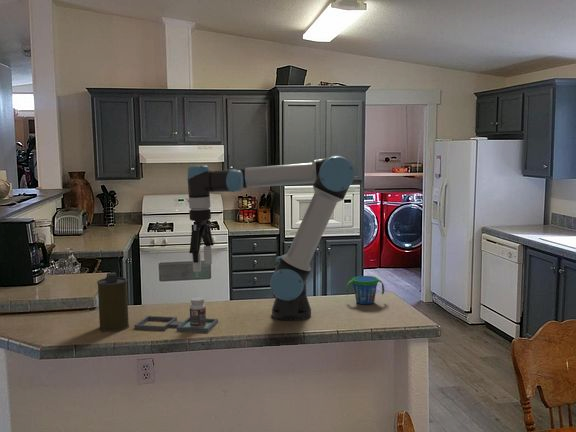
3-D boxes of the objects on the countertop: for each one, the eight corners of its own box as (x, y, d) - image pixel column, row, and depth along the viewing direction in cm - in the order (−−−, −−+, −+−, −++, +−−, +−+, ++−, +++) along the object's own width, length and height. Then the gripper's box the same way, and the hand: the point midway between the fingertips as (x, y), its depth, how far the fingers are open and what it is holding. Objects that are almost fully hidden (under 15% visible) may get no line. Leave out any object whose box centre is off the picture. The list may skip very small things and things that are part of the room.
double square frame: (218, 322, 213) (218, 318, 213) (208, 332, 202) (208, 328, 201) (147, 319, 218) (147, 315, 218) (134, 328, 207) (134, 325, 206)
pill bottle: (202, 328, 205) (202, 301, 204) (187, 327, 206) (186, 300, 205) (208, 323, 211) (207, 297, 210) (193, 323, 212) (192, 296, 211)
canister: (132, 328, 207) (130, 274, 204) (102, 333, 202) (99, 277, 199) (125, 321, 216) (122, 268, 214) (96, 325, 211) (93, 272, 209)
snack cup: (346, 305, 233) (346, 281, 232) (345, 299, 244) (345, 275, 243) (385, 306, 232) (385, 281, 231) (383, 299, 242) (383, 275, 241)
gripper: (200, 205, 219) (202, 260, 221) (178, 213, 194) (181, 274, 197) (219, 205, 218) (221, 260, 220) (199, 212, 193) (202, 274, 196)
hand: (202, 267), depth 208 cm, fingers open, 13 cm apart
